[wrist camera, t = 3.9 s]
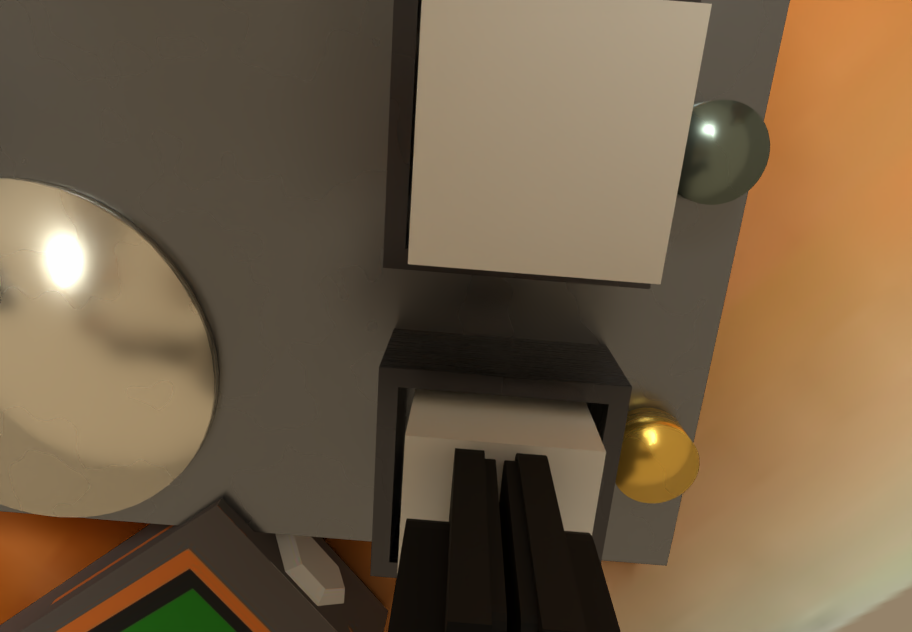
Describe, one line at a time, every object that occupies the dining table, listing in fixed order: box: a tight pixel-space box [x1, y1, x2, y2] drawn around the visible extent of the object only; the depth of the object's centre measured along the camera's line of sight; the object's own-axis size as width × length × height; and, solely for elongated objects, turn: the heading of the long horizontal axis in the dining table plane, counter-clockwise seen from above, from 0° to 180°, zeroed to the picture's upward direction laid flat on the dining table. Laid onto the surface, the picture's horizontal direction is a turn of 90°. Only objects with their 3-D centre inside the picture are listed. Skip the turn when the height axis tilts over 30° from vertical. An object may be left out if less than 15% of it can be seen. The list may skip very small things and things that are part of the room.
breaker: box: [408, 0, 712, 284], centre depth 10 cm, size 4×4×4 cm
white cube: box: [397, 389, 606, 573], centre depth 13 cm, size 4×4×4 cm
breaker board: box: [0, 0, 790, 578], centre depth 14 cm, size 14×22×4 cm, turn 86°
